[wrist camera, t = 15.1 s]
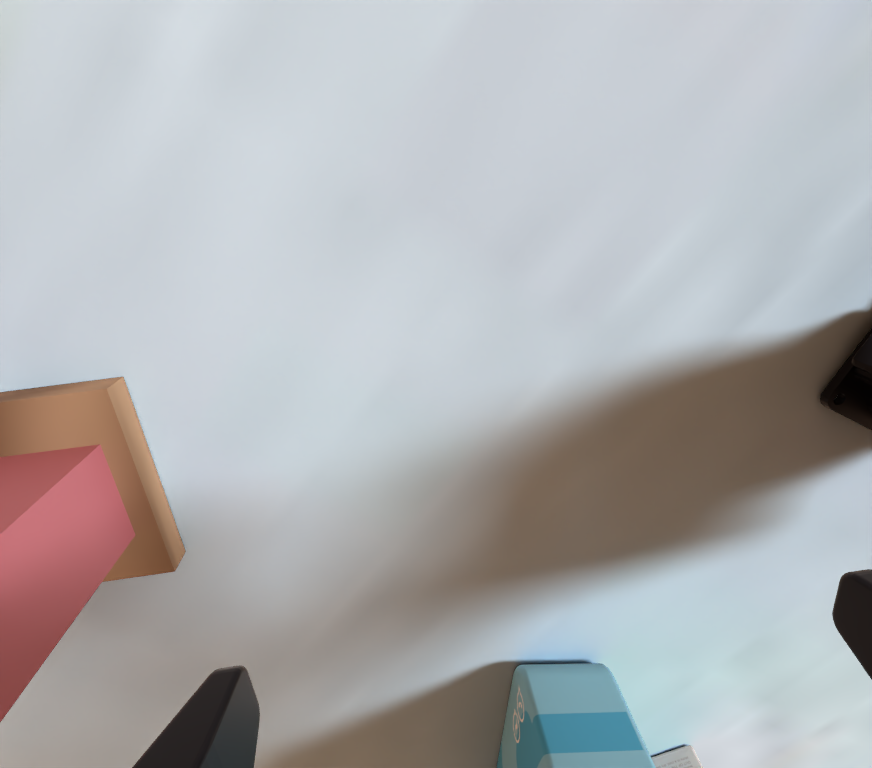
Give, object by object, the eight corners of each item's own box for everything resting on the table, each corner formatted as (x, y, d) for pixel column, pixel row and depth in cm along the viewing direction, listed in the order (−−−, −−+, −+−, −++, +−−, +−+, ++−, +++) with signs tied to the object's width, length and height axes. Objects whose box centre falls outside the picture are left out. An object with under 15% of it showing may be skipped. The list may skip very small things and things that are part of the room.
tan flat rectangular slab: (123, 376, 19) (106, 388, 18) (185, 551, 22) (174, 571, 21) (-154, 412, 18) (-189, 426, 17) (-52, 585, 21) (-76, 607, 20)
